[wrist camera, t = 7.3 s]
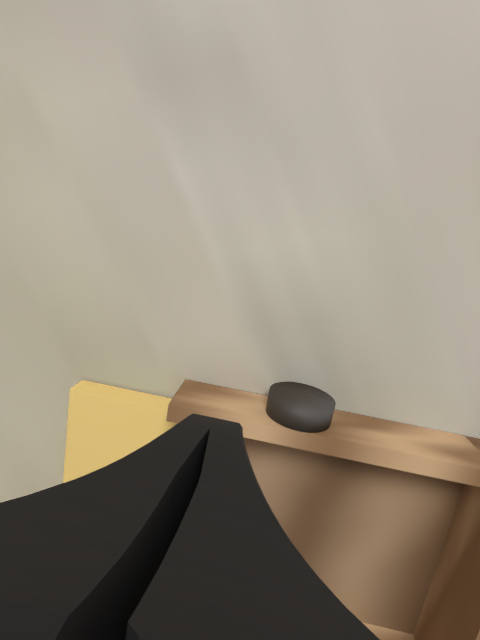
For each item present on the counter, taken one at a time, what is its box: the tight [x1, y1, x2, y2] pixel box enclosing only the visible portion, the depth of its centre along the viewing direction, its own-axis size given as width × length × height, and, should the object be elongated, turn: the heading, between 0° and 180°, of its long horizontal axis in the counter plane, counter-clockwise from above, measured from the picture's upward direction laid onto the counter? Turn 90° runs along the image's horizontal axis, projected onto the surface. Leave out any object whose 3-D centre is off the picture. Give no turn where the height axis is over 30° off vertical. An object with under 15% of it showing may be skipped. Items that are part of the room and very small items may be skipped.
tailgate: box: [63, 380, 178, 483], centre depth 20 cm, size 1×10×6 cm
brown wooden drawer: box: [166, 379, 480, 640], centre depth 18 cm, size 15×14×5 cm
